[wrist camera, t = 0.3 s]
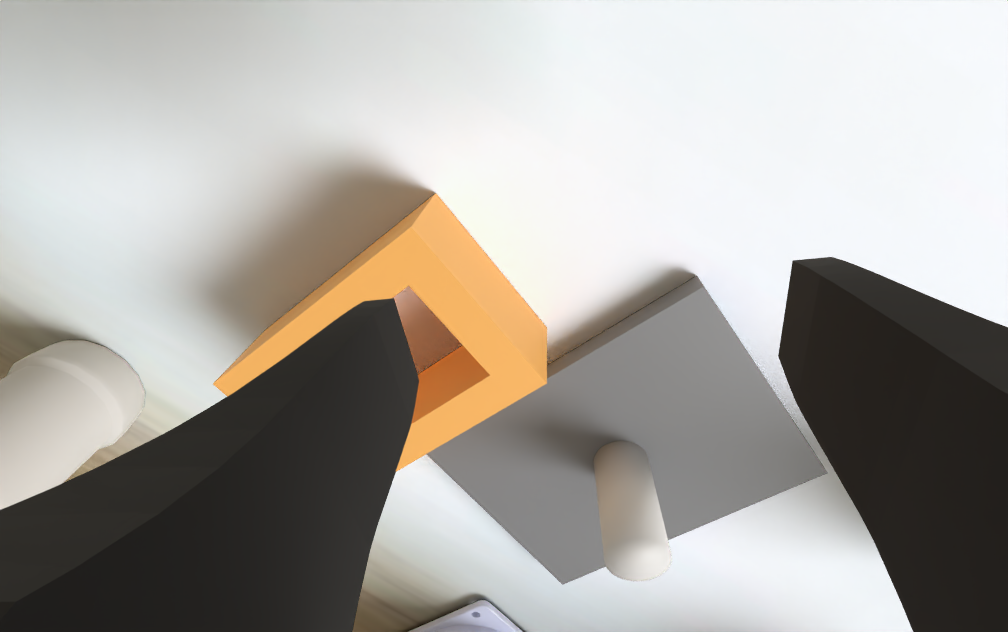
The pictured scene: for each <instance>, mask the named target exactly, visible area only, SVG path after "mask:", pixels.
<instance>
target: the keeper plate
mask: <svg viewBox="0 0 1008 632" xmlns="http://www.w3.org/2000/svg"><path fill="white" fill-rule="evenodd" d="M427 455H428V456H429V457H430V458H431V459H432V460H433V461H434V462H435V463H436V464H437V465H438V466H439V467H440V468H442V469H443V470H444V471H445V472H446V473H447V474H448V475H449V476H450V477H451V478H452V479H453V480H454V481H455V482H456V483H457V484H458V485H459V486H460V487H461V488H462V489H463V490H464V491H466V492H467V493H468V494H469V495H470V496H471V497H472V498H473V499H474V500H475V501H476V502H477V503H478V504H479V505H480V506H481V507H482V508H483V509H484V510H485V511H486V512H487V513H488V514H490V515H491V516H492V517H493V518H494V519H495V520H496V521H497V522H498V523H499V524H500V525H501V526H502V527H503V528H504V529H505V530H506V531H507V532H508V533H509V534H510V535H511V536H513V537H514V538H515V539H516V540H517V541H518V542H519V543H520V544H521V545H522V546H523V547H524V548H525V549H526V550H527V551H528V552H529V553H530V554H531V555H532V556H533V557H534V558H535V559H537V560H538V561H539V562H540V563H541V564H542V565H543V566H544V567H545V568H546V569H547V570H548V571H549V572H550V573H551V574H552V575H553V576H554V577H555V578H556V579H557V580H558V581H559V582H561V583H562V584H565V583H568V582H570V581H572V580H575V579H577V578H580V577H582V576H584V575H587V574H589V573H591V572H594V571H596V570H598V569H601V568H603V567H607V569H608V570H609V571H610V572H611V573H612V574H613V575H615V576H617V577H619V578H621V579H624V580H629V581H646V580H650V579H654V578H656V577H658V576H660V575H662V574H663V573H664V572H666V571H667V569H668V568H669V567H670V565H671V562H672V555H671V551H670V547H669V542H668V540H670V539H672V538H674V537H677V536H679V535H681V534H684V533H686V532H689V531H691V530H693V529H696V528H698V527H700V526H703V525H705V524H708V523H710V522H712V521H715V520H717V519H719V518H722V517H724V516H727V515H729V514H731V513H734V512H736V511H738V510H741V509H743V508H745V507H748V506H750V505H753V504H755V503H757V502H760V501H762V500H764V499H767V498H769V497H772V496H774V495H776V494H779V493H781V492H783V491H786V490H788V489H791V488H793V487H795V486H798V485H800V484H802V483H805V482H807V481H810V480H812V479H814V478H817V477H819V476H821V475H824V474H826V473H827V471H826V470H825V468H824V467H823V465H822V464H821V462H820V460H819V459H818V457H817V456H816V454H815V453H814V451H813V450H812V448H811V447H810V445H809V444H808V442H807V441H806V439H805V438H804V436H803V435H802V433H801V432H800V430H799V429H798V427H797V426H796V424H795V423H794V421H793V420H792V418H791V417H790V415H789V414H788V412H787V411H786V409H785V408H784V406H783V405H782V403H781V402H780V400H779V399H778V397H777V396H776V394H775V393H774V391H773V390H772V388H771V387H770V385H769V384H768V382H767V381H766V379H765V378H764V376H763V375H762V373H761V372H760V370H759V369H758V367H757V366H756V364H755V362H754V361H753V359H752V358H751V356H750V355H749V353H748V352H747V350H746V349H745V347H744V346H743V344H742V343H741V341H740V340H739V338H738V337H737V335H736V334H735V332H734V331H733V329H732V328H731V326H730V325H729V323H728V322H727V320H726V319H725V317H724V316H723V314H722V313H721V311H720V310H719V308H718V307H717V305H716V304H715V302H714V301H713V299H712V298H711V296H710V295H709V293H708V292H707V290H706V289H705V287H704V286H703V284H702V283H701V281H700V280H699V278H698V277H697V276H696V277H694V278H692V279H691V280H689V281H687V282H686V283H684V284H682V285H681V286H679V287H677V288H676V289H674V290H672V291H671V292H669V293H667V294H666V295H664V296H662V297H661V298H659V299H657V300H656V301H654V302H652V303H651V304H649V305H647V306H646V307H644V308H642V309H641V310H639V311H637V312H636V313H634V314H632V315H631V316H629V317H627V318H626V319H624V320H622V321H621V322H619V323H617V324H616V325H614V326H612V327H611V328H609V329H607V330H606V331H604V332H602V333H601V334H599V335H597V336H596V337H594V338H592V339H591V340H589V341H587V342H586V343H584V344H582V345H580V346H579V347H577V348H575V349H574V350H572V351H570V352H569V353H567V354H565V355H564V356H562V357H560V358H559V359H557V360H555V361H554V362H552V363H550V364H549V365H547V384H545V385H543V386H542V387H540V388H538V389H537V390H535V391H533V392H531V393H530V394H528V395H526V396H525V397H523V398H521V399H519V400H518V401H516V402H514V403H513V404H511V405H509V406H507V407H506V408H504V409H502V410H501V411H499V412H497V413H495V414H494V415H492V416H490V417H489V418H487V419H485V420H484V421H482V422H480V423H478V424H477V425H475V426H473V427H472V428H470V429H468V430H466V431H465V432H463V433H461V434H460V435H458V436H456V437H454V438H453V439H451V440H449V441H448V442H446V443H444V444H442V445H441V446H439V447H437V448H436V449H434V450H432V451H431V452H429V453H427Z"/></svg>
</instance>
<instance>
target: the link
mask: <svg viewBox="0 0 1008 632" xmlns="http://www.w3.org/2000/svg"><path fill="white" fill-rule="evenodd" d="M408 286H409V287H410V288H411V289H412V290H413V291H414V292H415V293H416V294H417V296H418V297H419V298H420V299H421V300H422V301H423V302H424V303H425V304H426V305H427V306H428V308H429V309H430V310H431V311H432V312H433V313H434V314H435V315H436V316H437V317H438V319H439V320H440V321H441V322H442V323H443V324H444V325H445V326H446V327H447V328H448V330H449V331H450V332H451V333H452V334H453V335H454V336H455V337H456V338H457V339H458V341H459V342H460V343H461V344H462V346H461V347H459V348H458V349H456V350H455V351H453V352H452V353H450V354H449V355H447V356H445V357H444V358H442V359H441V360H439V361H438V362H436V363H435V364H433V365H432V366H430V367H429V368H427V369H426V370H424V371H423V372H421V373H420V374H418V378H419V385H418V391H417V397H416V403H415V408H414V413H413V418H412V423H411V427H410V430H409V433H408V436H407V439H406V442H405V445H404V448H403V452H402V455H401V458H400V461H399V463H398V466H397V469H396V471H398V470H400V469H401V468H403V467H405V466H407V465H408V464H410V463H412V462H413V461H415V460H417V459H419V458H420V457H422V456H424V455H425V454H427V453H429V452H431V451H432V450H434V449H436V448H437V447H439V446H441V445H442V444H444V443H446V442H448V441H449V440H451V439H453V438H454V437H456V436H458V435H460V434H461V433H463V432H465V431H466V430H468V429H470V428H472V427H473V426H475V425H477V424H478V423H480V422H482V421H484V420H485V419H487V418H489V417H490V416H492V415H494V414H495V413H497V412H499V411H501V410H502V409H504V408H506V407H507V406H509V405H511V404H513V403H514V402H516V401H518V400H519V399H521V398H523V397H525V396H526V395H528V394H530V393H531V392H533V391H535V390H537V389H538V388H540V387H542V386H543V385H545V384H547V327H546V326H545V325H544V324H543V322H542V321H541V320H540V319H539V318H538V316H537V315H536V314H535V313H534V312H533V310H532V309H531V308H530V307H529V305H528V304H527V303H526V302H525V301H524V299H523V298H522V297H521V296H520V295H519V293H518V292H517V291H516V290H515V288H514V287H513V286H512V285H511V284H510V282H509V281H508V280H507V279H506V278H505V276H504V275H503V274H502V273H501V271H500V270H499V269H498V268H497V267H496V265H495V264H494V263H493V262H492V261H491V259H490V258H489V257H488V256H487V255H486V253H485V252H484V251H483V250H482V248H481V247H480V246H479V245H478V244H477V242H476V241H475V240H474V239H473V238H472V236H471V235H470V234H469V233H468V231H467V230H466V229H465V228H464V227H463V225H462V224H461V223H460V222H459V221H458V219H457V218H456V217H455V216H454V215H453V213H452V212H451V211H450V210H449V208H448V207H447V206H446V205H445V204H444V202H443V201H442V200H441V199H440V198H439V196H438V195H437V194H436V193H435V194H434V195H433V196H431V197H430V198H429V199H428V200H427V201H425V202H424V203H423V204H422V205H420V206H419V207H418V208H417V209H415V210H414V211H413V212H412V213H410V214H409V215H408V216H407V217H405V218H404V219H403V220H402V221H400V222H399V223H398V224H397V225H395V226H394V227H393V228H392V229H390V230H389V231H388V232H387V233H385V234H384V235H383V236H382V237H380V238H379V239H378V240H377V241H376V242H374V243H373V244H372V245H371V246H369V247H368V248H367V249H366V250H364V251H363V252H362V253H361V254H359V255H358V256H357V257H356V258H354V259H353V260H352V261H351V262H349V263H348V264H347V265H346V266H344V267H343V268H342V269H341V270H339V271H338V272H337V273H336V274H334V275H333V276H332V277H331V278H329V279H328V280H327V281H326V282H325V283H323V284H322V285H321V286H320V287H318V288H317V289H316V290H315V291H313V292H312V293H311V294H310V295H308V296H307V297H306V298H305V299H303V300H302V301H301V302H300V303H298V304H297V305H296V306H295V307H293V308H292V309H291V310H290V311H288V312H287V313H286V314H285V315H283V316H282V317H281V318H280V319H278V320H277V321H276V322H275V323H274V324H272V325H271V326H270V327H269V328H267V329H266V330H265V331H264V332H263V333H262V334H261V335H260V336H259V337H258V338H257V339H256V340H255V341H254V342H253V343H252V344H251V345H250V346H249V347H248V348H247V349H246V350H245V351H244V352H243V353H242V354H241V355H240V356H239V357H238V358H237V359H236V361H235V362H234V363H233V364H232V365H231V366H230V367H229V368H228V369H227V370H226V371H225V372H224V373H223V374H222V375H221V376H220V377H219V378H218V379H217V380H216V381H215V382H214V383H213V385H215V386H216V387H217V388H218V389H219V390H220V391H222V392H223V393H224V394H225V395H226V396H229V395H231V394H232V393H234V392H235V391H237V390H238V389H240V388H241V387H243V386H244V385H246V384H247V383H248V382H250V381H251V380H253V379H254V378H256V377H257V376H259V375H260V374H261V373H263V372H264V371H266V370H267V369H269V368H270V367H272V366H273V365H275V364H276V363H277V362H279V361H280V360H282V359H283V358H285V357H286V356H287V355H289V354H290V353H291V352H293V351H294V350H295V349H297V348H298V347H299V346H301V345H302V344H303V343H305V342H306V341H308V340H309V339H310V338H312V337H313V336H314V335H316V334H317V333H318V332H320V331H321V330H322V329H324V328H325V327H326V326H328V325H329V324H330V323H332V322H333V321H334V320H336V319H337V318H339V317H340V316H341V315H343V314H344V313H346V312H347V311H349V310H350V309H352V308H353V307H355V306H356V305H358V304H360V303H362V302H363V301H370V300H381V299H391V298H393V297H394V296H396V295H397V294H398V293H400V292H401V291H402V290H404V289H405V288H406V287H408Z"/></svg>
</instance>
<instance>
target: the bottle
mask: <svg viewBox="0 0 1008 632" xmlns="http://www.w3.org/2000/svg"><path fill="white" fill-rule="evenodd" d="M144 401H145V390H144V388H143V385H142V383H141V380H140V378H139V376H138V374H137V373H136V372H135V371H134V370H133V369H132V368H131V366H130V365H129V364H128V363H127V362H126V361H125V360H124V359H123V358H121V357H120V356H118V355H117V354H115V353H114V352H112V351H111V350H109V349H108V348H106V347H103V346H100V345H98V344H95V343H92V342H89V341H86V340H65V341H61V342H57V343H55V344H52V345H50V346H47V347H45V348H43V349H41V350H38V351H36V352H34V353H32V354H30V355H28V356H26V357H24V358H22V359H21V360H19V361H17V362H16V363H14V364H13V366H12V367H11V369H10V371H9V372H8V374H7V376H6V377H4V378H3V379H1V380H0V510H1V509H4V508H6V507H9V506H11V505H13V504H16V503H18V502H20V501H23V500H25V499H28V498H30V497H32V496H35V495H37V494H39V493H42V492H44V491H46V490H49V489H51V488H53V487H56V486H58V485H60V484H62V483H63V482H64V481H66V480H67V479H68V478H69V477H70V476H71V475H72V474H73V473H74V472H75V471H76V470H77V469H78V468H79V467H80V466H81V465H82V464H83V463H84V462H86V461H87V460H88V459H89V458H90V457H91V456H92V455H93V454H94V453H95V452H96V451H97V450H98V449H101V448H104V447H107V446H109V445H112V444H114V443H115V442H116V441H117V440H118V439H119V438H120V437H121V436H122V435H123V434H124V433H125V432H126V431H127V430H128V429H129V427H130V426H131V425H132V424H133V422H134V421H135V420H136V419H137V417H138V416H139V415H140V413H141V411H142V410H143V408H144Z"/></svg>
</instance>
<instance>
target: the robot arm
mask: <svg viewBox="0 0 1008 632" xmlns="http://www.w3.org/2000/svg"><path fill="white" fill-rule="evenodd" d="M778 356H779V359H780V362H781V364H782V367H783V370H784V373H785V375H786V378H787V381H788V383H789V386H790V388H791V391H792V393H793V396H794V398H795V401H796V403H797V405H798V407H799V409H800V410H801V412H802V414H803V416H804V418H805V419H806V421H807V423H808V425H809V426H810V428H811V430H812V432H813V434H814V435H815V437H816V439H817V441H818V442H819V444H820V446H821V448H822V449H823V451H824V453H825V455H826V456H827V458H828V460H829V461H830V463H831V465H832V467H833V468H834V470H835V472H836V474H837V475H838V477H839V479H840V480H841V482H842V484H843V486H844V487H845V489H846V491H847V493H848V494H849V496H850V498H851V500H852V501H853V503H854V505H855V506H856V508H857V510H858V512H859V513H860V515H861V517H862V519H863V521H864V523H865V525H866V527H867V529H868V531H869V532H870V534H871V536H872V538H873V540H874V542H875V544H876V547H877V549H878V551H879V553H880V556H881V558H882V560H883V562H884V565H885V567H886V569H887V571H888V574H889V576H890V578H891V580H892V583H893V585H894V587H895V589H896V592H897V594H898V596H899V599H900V601H901V603H902V605H903V608H904V610H905V613H906V615H907V618H908V620H909V622H910V625H911V627H912V630H913V632H1008V327H1005V326H1002V325H1000V324H997V323H994V322H992V321H989V320H987V319H984V318H981V317H979V316H976V315H974V314H971V313H969V312H966V311H964V310H961V309H959V308H957V307H954V306H952V305H949V304H947V303H944V302H942V301H940V300H937V299H935V298H932V297H930V296H928V295H925V294H923V293H921V292H918V291H916V290H914V289H911V288H909V287H907V286H904V285H902V284H900V283H897V282H895V281H893V280H890V279H888V278H886V277H883V276H881V275H879V274H876V273H874V272H871V271H869V270H866V269H864V268H861V267H859V266H856V265H854V264H851V263H848V262H846V261H843V260H840V259H836V258H833V257H827V258H816V259H805V260H795V261H793V262H792V269H791V276H790V282H789V289H788V296H787V302H786V309H785V315H784V322H783V329H782V335H781V342H780V349H779V355H778ZM418 385H419V378H418V375H417V371H416V368H415V365H414V362H413V359H412V355H411V352H410V349H409V346H408V343H407V339H406V336H405V333H404V330H403V327H402V323H401V320H400V317H399V314H398V311H397V307H396V304H395V301H394V298H391V299H381V300H370V301H363V302H362V303H360V304H358V305H356V306H355V307H353V308H352V309H350V310H349V311H347V312H346V313H344V314H343V315H341V316H340V317H339V318H337V319H336V320H334V321H333V322H332V323H330V324H329V325H328V326H326V327H325V328H324V329H322V330H321V331H320V332H318V333H317V334H316V335H314V336H313V337H312V338H310V339H309V340H308V341H306V342H305V343H303V344H302V345H301V346H299V347H298V348H297V349H295V350H294V351H293V352H291V353H290V354H289V355H287V356H286V357H285V358H283V359H282V360H280V361H279V362H277V363H276V364H275V365H273V366H272V367H270V368H269V369H267V370H266V371H264V372H263V373H261V374H260V375H259V376H257V377H256V378H254V379H253V380H251V381H250V382H248V383H247V384H246V385H244V386H243V387H241V388H240V389H238V390H237V391H235V392H234V393H232V394H231V395H229V396H227V397H226V398H224V399H223V400H221V401H220V402H218V403H216V404H215V405H213V406H211V407H210V408H208V409H207V410H205V411H203V412H201V413H200V414H198V415H196V416H194V417H193V418H191V419H189V420H188V421H186V422H184V423H182V424H181V425H179V426H177V427H175V428H174V429H172V430H170V431H168V432H166V433H165V434H163V435H161V436H159V437H157V438H155V439H153V440H151V441H149V442H147V443H145V444H143V445H141V446H139V447H137V448H135V449H133V450H131V451H129V452H127V453H125V454H123V455H121V456H119V457H117V458H115V459H113V460H111V461H109V462H107V463H105V464H103V465H102V466H99V467H97V468H95V469H93V470H91V471H89V472H87V473H84V474H82V475H80V476H78V477H76V478H73V479H71V480H69V481H67V482H64V483H62V484H60V485H58V486H56V487H53V488H51V489H49V490H46V491H44V492H42V493H39V494H37V495H35V496H32V497H30V498H28V499H25V500H23V501H20V502H18V503H16V504H13V505H11V506H9V507H6V508H4V509H1V510H0V632H352V630H353V625H354V620H355V615H356V611H357V606H358V601H359V597H360V592H361V588H362V583H363V579H364V574H365V570H366V566H367V561H368V557H369V553H370V549H371V545H372V542H373V538H374V535H375V532H376V528H377V525H378V522H379V519H380V516H381V513H382V510H383V507H384V504H385V502H386V499H387V496H388V493H389V490H390V487H391V484H392V481H393V478H394V475H395V472H396V469H397V466H398V463H399V461H400V458H401V455H402V452H403V448H404V445H405V442H406V439H407V436H408V433H409V430H410V427H411V423H412V418H413V413H414V408H415V403H416V397H417V391H418ZM409 632H523V631H522V630H520V629H519V628H518V627H517V626H516V625H515V624H513V623H512V622H511V621H510V620H509V619H508V618H507V617H505V616H504V615H503V614H502V613H501V612H500V611H499V610H497V609H496V608H495V607H494V606H493V605H492V604H490V603H489V602H488V601H485V600H480V601H477V602H475V603H472V604H470V605H468V606H466V607H463V608H461V609H459V610H456V611H454V612H452V613H450V614H447V615H445V616H443V617H440V618H438V619H436V620H434V621H431V622H429V623H427V624H424V625H422V626H420V627H418V628H415V629H413V630H411V631H409Z"/></svg>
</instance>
